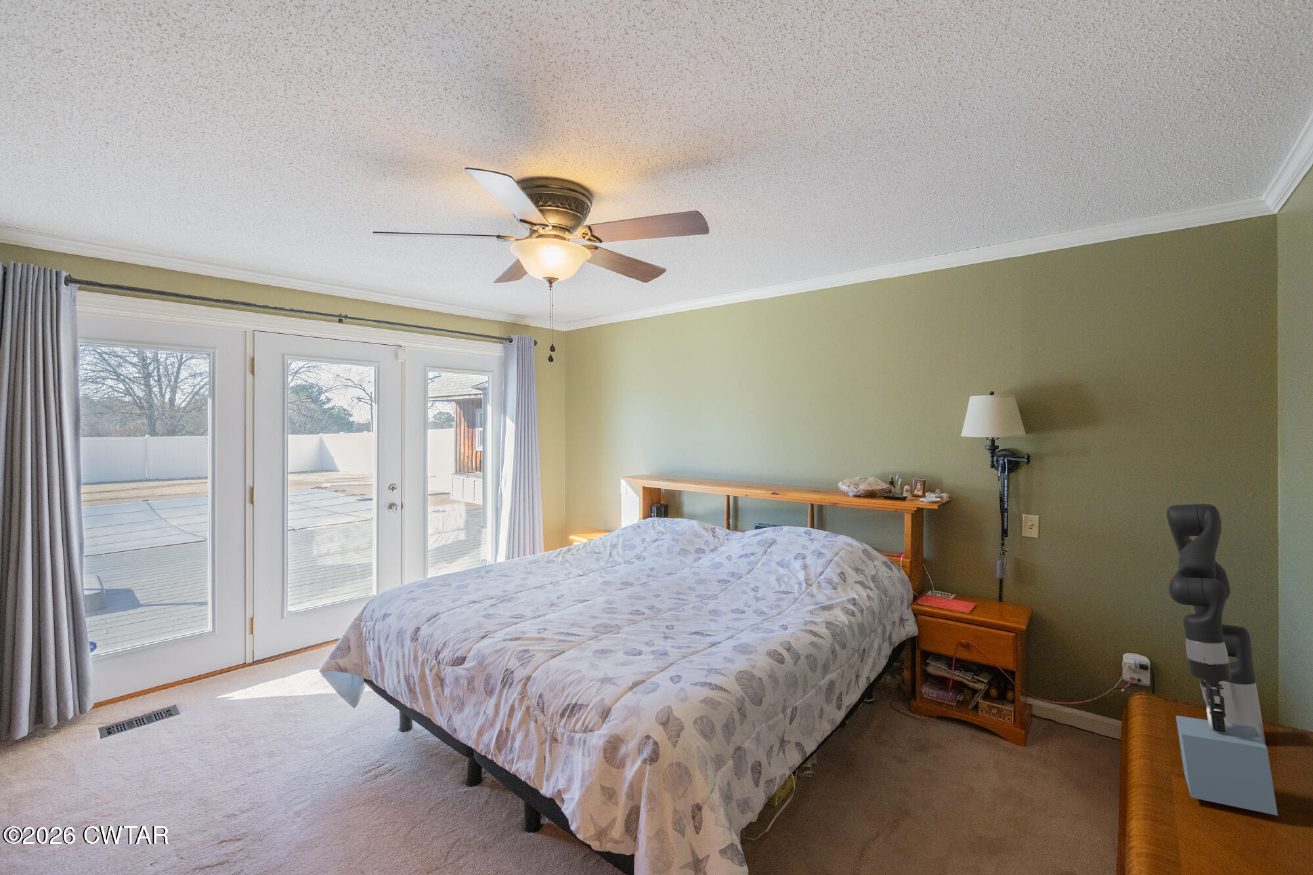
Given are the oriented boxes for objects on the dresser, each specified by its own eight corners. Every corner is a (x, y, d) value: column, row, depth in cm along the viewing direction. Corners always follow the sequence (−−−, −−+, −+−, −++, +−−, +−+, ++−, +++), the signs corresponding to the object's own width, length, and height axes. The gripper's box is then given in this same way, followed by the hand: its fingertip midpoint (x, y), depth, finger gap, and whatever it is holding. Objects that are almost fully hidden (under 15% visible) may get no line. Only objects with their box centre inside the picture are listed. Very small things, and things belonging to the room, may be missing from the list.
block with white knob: (1184, 773, 147) (1173, 696, 149) (1264, 789, 138) (1251, 706, 140) (1191, 797, 137) (1178, 713, 139) (1277, 815, 128) (1263, 725, 130)
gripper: (1183, 648, 148) (1193, 714, 147) (1191, 663, 137) (1201, 736, 135) (1223, 651, 143) (1233, 720, 142) (1234, 668, 132) (1245, 743, 131)
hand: (1218, 728), depth 139 cm, fingers closed on block with white knob, 3 cm apart
